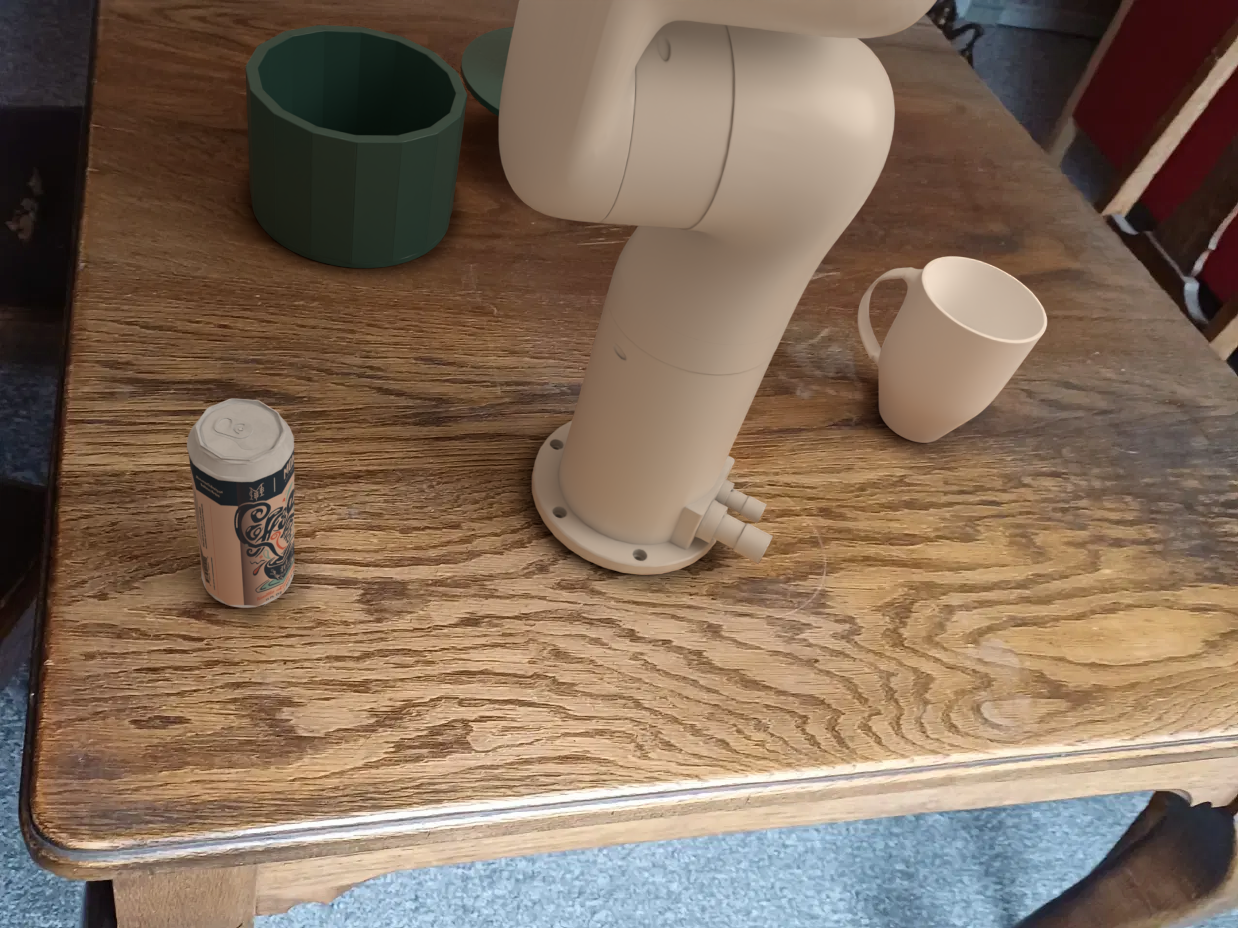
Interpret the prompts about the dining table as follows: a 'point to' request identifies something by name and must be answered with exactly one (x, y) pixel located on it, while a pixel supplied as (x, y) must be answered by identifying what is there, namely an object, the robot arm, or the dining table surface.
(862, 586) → the dining table surface
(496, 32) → the tin lid
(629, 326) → the robot arm
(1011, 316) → the mug
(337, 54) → the tin
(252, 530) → the beer can
